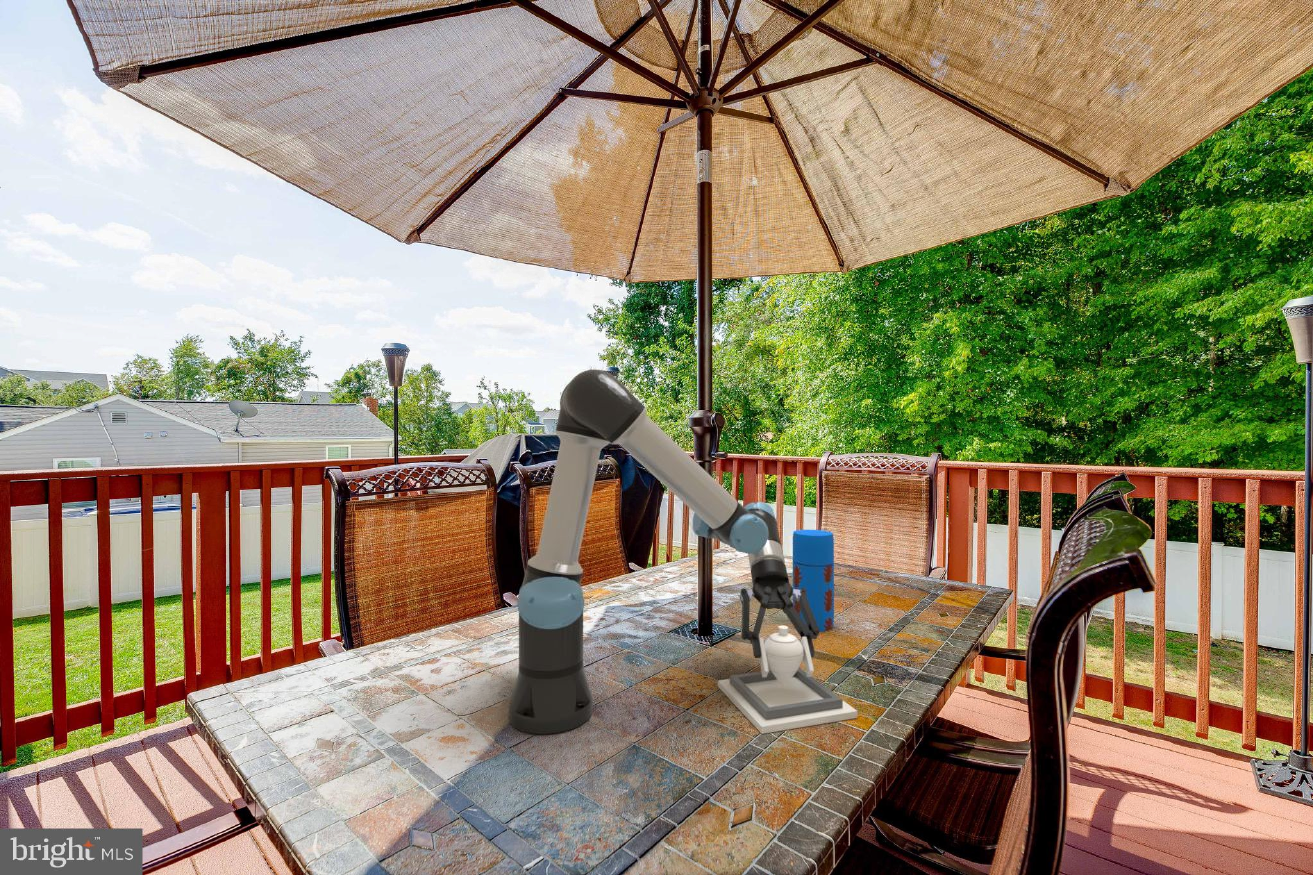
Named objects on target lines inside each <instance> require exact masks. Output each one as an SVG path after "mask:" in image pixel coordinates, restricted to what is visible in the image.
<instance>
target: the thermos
mask: <svg viewBox="0 0 1313 875" xmlns="http://www.w3.org/2000/svg"><path fill="white" fill-rule="evenodd" d="M833 533H834V532H832V531H828V530H820V529H798V530H793V532H792V588H793V589H797V590H801V589H802V588H805V589H806V590H807V600H808V602H809V605H810V607H811V610H812V612H813V615H814V617H815V620H816V622H817V625H818V627H819V629H820V633H821V632H828V631H831V630H832V629H833V628H834V619H835V541H834V534H833ZM792 603H793V606H794V608H795V609H796V611H797V612H798V614H799V615H800V617H801V618H802V620H803V621H804V623H805V624H806V622H805V619H804V617H803V614H802V612H801V609H800V607H799V601H796V599H795V597H794V596H793V595H792ZM806 626H807V625H806Z"/></svg>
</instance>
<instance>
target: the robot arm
mask: <svg viewBox="0 0 1313 875" xmlns="http://www.w3.org/2000/svg"><path fill="white" fill-rule="evenodd" d="M558 412H559V413H558V416H557V417H558V418H557V422H556V427H555V434H556V436H557V437H558V438H559V441H560V443H559V449H558V454H557V458H556V463H555V466H554V472H553V477H552V480H551V481H552V482H551V487H550V492H549V496H548V500H547V505H546V509H545V515H544V519H543V523H542V528H541V532H540V534H541V535H540V537H539V541H538V542H539V543H538V547H537V552H536V554H535V555H534V556H532V557H531V558H529V559H528V560H527V564H526V567H525V568H526V569H525V571H524V572H525V573H524V577H523V582H522V584H521V586H520V588H519V591H518V592H519V593H518V597H517V598H518V599H517V611H518V674H517V678H516V680H515V684H514V687H513V690H512V693H511V696H510V700H509V703H508V721H509V723H510V725H511V726H512V727H514V728H515V729H517V730H518V731H521V732H524V733H529V734H534V735H536V734H537V735H551V734H559V733H562V732H568V731H570V730H573V729H575V728H577V727H579V726H581V725H583V724H585V723H586V722H587V721H588V720H590V718H591V716H592V715H593V713H594V698H593V697H594V696H593V694H592V691H591V689H590V684H589V681H588V678H587V675H586V672H585V669H584V608H585V598H584V591H583V588H582V586H581V582H582V577H583V574H584V573H583V572H584V569H583V567H582V566H581V564H580V563H579V557H580V550H581V547H582V542H583V537H584V533H585V528H586V523H587V518H588V514H589V509H590V503H591V498H592V493H593V488H594V484H595V480H596V476H597V470H598V465H599V460H600V455H601V451H602V449H603V448H605V447H606V446H608V445H609V444H611V445H620V447H622V448H623V449H624V450H625V451H627V452H628V453H629V454H630V455H631V456H632V457H633V458H634V459H635V460H636V461H637V462H638V463H639V464H641V466H643V467H644V469H646V470H648V472H650V473H651V474H652V476H654V477H655V478H656V479H657V480H658V481H659V482H661V484H663V486H665V487H666V488H667V489H668V490H669V491H670V492H671V493H672V494H674V496H676V497H677V498H678V499H679V500H680V501H681V502H682V503H683V504H684V505H685V506H687V507H688V508H689V509H690V510H691V511H692V512H693V517H692V530H693V532H694V534H695V535H697V536H700V537H704V538H706V539H713V540H716V541H718V542H720V543H723V544H724V545H727V546H728V547H730V548H733V549H734V550H736V551H737V552H739V553H744V554H747V556H748V563H749V568H750V574H751V582H752V587H751V589H746V588H745V587H744V588H741V590H740V593H739V600H740V603H741V633H740V634H741V635H740V636H741V639H742V640H745V641H746V640H748V641H750V644H751V646H752V650H753V651H752V652H753V653H752V654H753V657H754V659H759V663H760V665H759V666H760V672H761V671H762V677H767V675H768V672H769V670H770V669H769V667H768V664H767V658H766V651H765V645H764V643H765V639H764V637H763V636H762V637H760V632H761V629H762V625H763V622H764V617H765V615H766V614H765V613H766V611H767V610H772V609H776V610H782V612H783V613H784V614H785V615H786V617H787V618H788V619H789V621H790V623H791V624H792V626H793V628H794V629H795V630H796V632H797V633H798V635H799V636H800V638H801V640H799V642H800V643H801V645H802V647H803V650H804V658H803V661H802V662H803V664H804V670H805V672H806V675H807V677H812V675H813V674H814V672H815V670H814V664H813V660H812V658H814V657H815V656H814V655H815V652H816V651H815V647H814V642H813V640H816V639H817V638H818V637H819V635H820V633H821V632H820V629H819V627H818V625H817V622H816V620H815V617H814V615H813V612H812V610H811V607H810V605H809V602H808V600H807V590H806V589H805V588H802V589H801V590H797V589H793V585H791V583H790V579H789V575H788V570H787V566H786V560H785V556H784V553H783V552H784V551H783V549H782V543H781V539H780V538H781V537H780V534H779V528H778V521H777V518H776V516H775V512H774V510H773V507H772V506H771V505H770V504H768V503H766V502H763V501H758V502H751V503H748V504H747V505H745V506H743V504H741V503H740V502H739V501H737V499H736V498H735V497H734V496H732V494H730V493H729V492H728V490H726V489H725V488H724V487H723V486H722V485H721V484H720V483H719V482H717V480H715V478H713V476H711V475H710V474H709V473H708V472H707V471H706V470H705V468H703V467H702V465H701V466H700V465H699V463H698V462H696V461H695V460H694V459H693V458H692V457H691V456H690V454H688V453H687V452H686V451H685V450H684V449H683V448H682V447H680V445H679V444H678V443H676V442H675V441H674V440H673V439H672V437H671V436H669V435H668V434H667V433H666V432H665V431H664V430H662V428H660V426H658V425H657V423H655V422H654V421H653V420H652V419H651V418H650V417H649V416H648V415H647V407H646V406H645V405H644V404H643V403H642V402H641V401H640V400H638V398H637V397H636V396H635V395H634V394H633V393H632V392H630V390H629V388H627V387H626V386H625V385H624V384H623V383H622V382H621V381H620V380H619V379H618V378H617V377H616V376H614V375H613V374H611V373H609V372H608V371H605V370H602V369H587V370H583V371H581V372H580V373H578V374H577V375H575V376H574V377H573V378H572V379H571V380H570V381H569V382H568V383H567V384H566V386H565V387H564V389H563V391H562V393H561V396H560V399H559V411H558ZM793 596H794V597H795V599H796V601H799V607H800V609H801V612H802V614H803V617H804V619H805V622H806V624H805V623H804V621H803V620H802V618H801V617H800V615H799V614H798V612H797V611H796V609H795V608H794V606H793V600H791V597H793ZM752 597H754V598H755V599H756V601H757V602H758V603H759V604H760V606H759V609H758V613H757V616H756V620H755V624H754V628H753V631H752V630H750V601H751V600H752ZM806 625H807V626H806Z"/></svg>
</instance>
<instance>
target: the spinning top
mask: <svg viewBox="0 0 1313 875" xmlns="http://www.w3.org/2000/svg"><path fill="white" fill-rule="evenodd" d="M777 628H778V632H775V633H771V634H770V635H769V636H768V637H767V638H766V640H764V645H765V651H766V658H767V664H768V669H769V670H771V671H772V673H773V674H774V676H775V677H776V678H777V680H778V681H779V682H780V683H781V684H782V689H783V690H784V685H785V684H787V683H788V682H789V680H790V679H791V678H792V677H793V676H794V674H795V673H796V672H797V670H798V669H799V668H801V667H800V666H801V665H802V663H803V662H804V661H803V658H804V650H803V647H802V645H801V643H800V640H799V639H798V638H797V637H796V635H793V634H792V633H789V626H787V625H778V626H777Z"/></svg>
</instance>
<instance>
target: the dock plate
mask: <svg viewBox="0 0 1313 875" xmlns="http://www.w3.org/2000/svg"><path fill="white" fill-rule="evenodd" d="M768 670H769V672H768V675H767V677H762V671H761V670H760V671H755V672H747V673H739V674H731V675H729V678H727V679H720V680H717V687H718V689H720V691H721V692H722V693H723V694H724V695H725V696H727V698H728V699H729V700H730V702H731V703H733V705H734V706H736V708H737V709H738V710H739V711H740V712H741V713H742V714H743V715H744V717H746V718H747V720H748V721H749V722H750V723H751V724H752V726H754V727H755V728H756V730H758V731H759V733H760V734H762V735H763V734H769V733H775V732H781V731H787V730H792V729H798V728H804V727H810V726H817V725H823V724H828V723H835V722H840V721H847V720H852V719H858V710H857V709H855V708H854V707H853V706H851V705H850V704H848V703H847V702H846V701H844V700H843V699H842V698H841V697H840V696H838V695H837V694H836V693H835V692H833V691H831V690H830V689H829V688H827V687H826V686H825V685H823V684H822V683H821V682H819V681H818V680H817V679H815V678H814V677H812V676H811V677H807V675H806V671H804V670H803V669H802V668H801V667H799V669H798V670H797V672H796V673H795V674H794V676H793V677H792V678H791V679H790V680H789V682H788V683H787V684H785V685H784V690H783V689H782V684H781V683H780V682H779V681H778V680H777V678H776V677H775V676H774V674H773V673H772V671H771V670H770V669H768Z"/></svg>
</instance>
